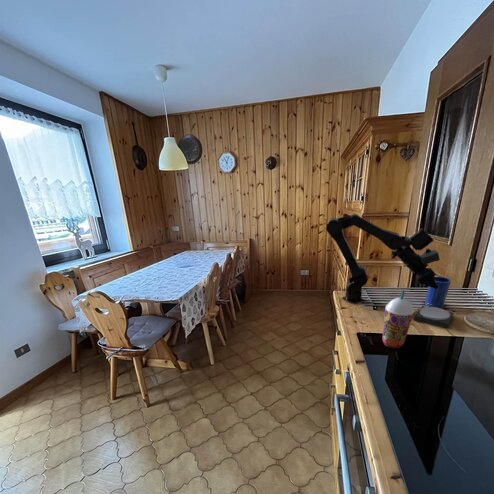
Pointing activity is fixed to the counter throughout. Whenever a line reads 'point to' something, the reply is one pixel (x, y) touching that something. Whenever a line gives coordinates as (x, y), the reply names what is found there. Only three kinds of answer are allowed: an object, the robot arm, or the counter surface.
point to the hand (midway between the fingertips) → (433, 284)
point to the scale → (434, 316)
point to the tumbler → (438, 293)
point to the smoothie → (397, 321)
